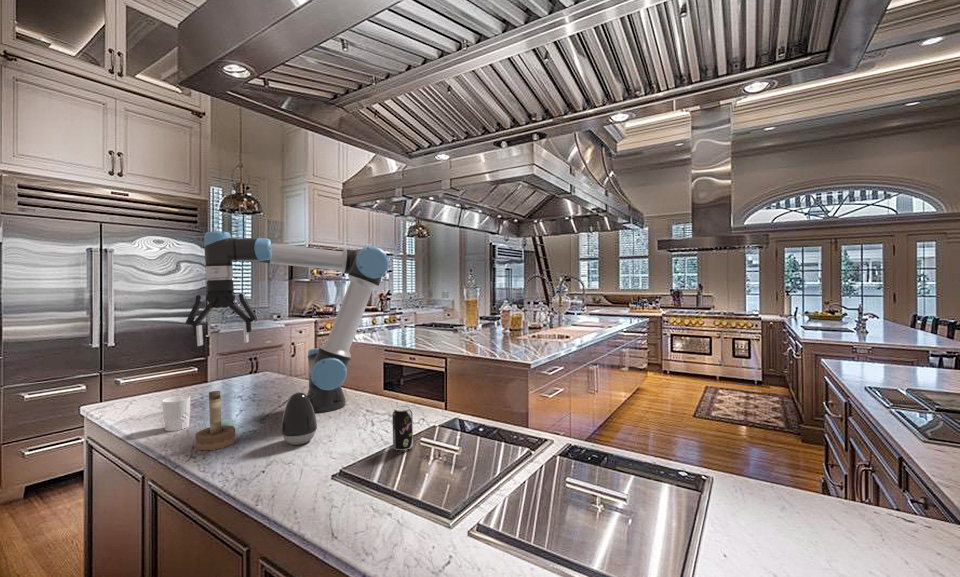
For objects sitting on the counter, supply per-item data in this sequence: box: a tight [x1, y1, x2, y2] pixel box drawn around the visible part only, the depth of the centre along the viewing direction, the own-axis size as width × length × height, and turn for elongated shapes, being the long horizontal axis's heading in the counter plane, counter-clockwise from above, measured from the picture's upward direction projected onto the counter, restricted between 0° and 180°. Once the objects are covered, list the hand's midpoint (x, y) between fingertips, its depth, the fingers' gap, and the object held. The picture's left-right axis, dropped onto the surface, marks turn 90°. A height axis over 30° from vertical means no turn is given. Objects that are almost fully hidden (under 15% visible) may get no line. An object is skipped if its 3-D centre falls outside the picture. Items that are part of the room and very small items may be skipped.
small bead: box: [221, 418, 234, 426], centre depth 141 cm, size 6×6×4 cm
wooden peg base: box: [194, 425, 236, 451], centre depth 131 cm, size 10×10×4 cm
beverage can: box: [391, 405, 414, 451], centre depth 125 cm, size 6×6×12 cm
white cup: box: [161, 395, 191, 432], centre depth 146 cm, size 8×8×10 cm
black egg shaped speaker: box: [280, 391, 318, 446], centre depth 131 cm, size 10×10×15 cm
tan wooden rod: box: [208, 390, 222, 434], centre depth 131 cm, size 3×3×16 cm
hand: (223, 344), depth 141 cm, fingers open, 13 cm apart
